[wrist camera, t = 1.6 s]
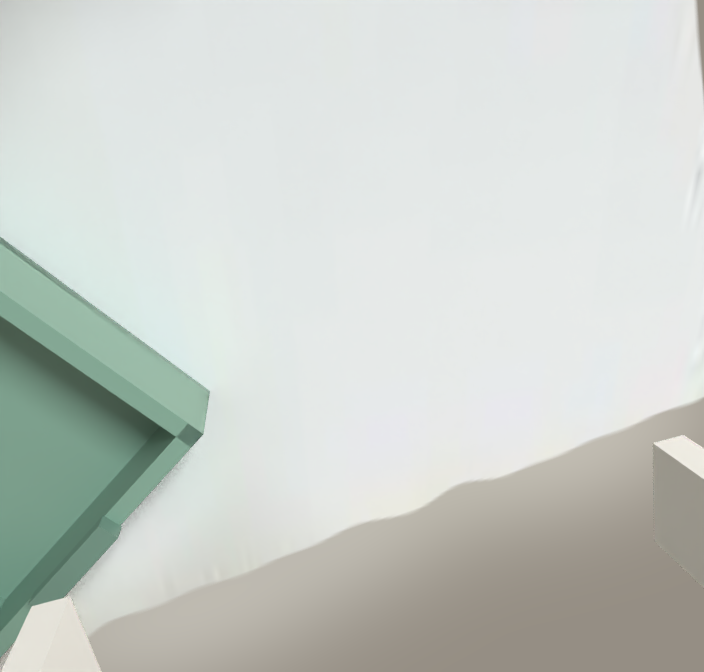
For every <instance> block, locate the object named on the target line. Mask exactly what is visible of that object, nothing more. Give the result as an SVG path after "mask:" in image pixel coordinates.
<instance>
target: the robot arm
mask: <svg viewBox="0 0 704 672" xmlns="http://www.w3.org/2000/svg"><path fill="white" fill-rule="evenodd" d="M653 490H654V491H653V495H654V498H653V499H654V541H655V542H656V543H657V544H658V545H659V546H660V547H661V548H662V549H663V550H664V551H665V552H666V553H667V554H668V555H669V556H670V557H671V558H672V559H674V560H675V561H676V562H677V563H678V564H679V565H680V566H681V567H682V568H683V569H684V570H685V571H686V572H687V573H688V574H689V575H690V576H692V578H694V579H695V580H696V581H697V582H698V583H699V584H700V585H701V586H702V587H703V588H704V448H702V447H701V446H699V445H697V444H696V443H695V442H693V441H691V440H690V439H688V438H687V437H685V436H684V435H682V436H678V437H674V438H670V439H667V440H663V441H659V442H655V443H653ZM1 672H102V671H101V669H100V666H99V664H98V662H97V659H96V657H95V654H94V652H93V650H92V647H91V645H90V643H89V640H88V638H87V635H86V633H85V631H84V628H83V626H82V624H81V621H80V619H79V616H78V614H77V612H76V609H75V607H74V605H73V602H72V600H71V597H70V596H69V597H65V598H61V599H58V600H54V601H50V602H46V603H42V604H39V605H35V606H32V607H31V609H30V611H29V613H28V615H27V617H26V620H25V622H24V624H23V626H22V628H21V630H20V632H19V634H18V637H17V639H16V641H15V643H14V645H13V647H12V649H11V651H10V654H9V656H8V658H7V660H6V662H5V664H4V666H3V668H2V671H1Z"/></svg>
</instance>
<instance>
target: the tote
mask: <svg viewBox="0 0 704 672" xmlns="http://www.w3.org/2000/svg"><path fill="white" fill-rule="evenodd" d="M209 393H210V391H209V390H207V389H206V388H205V387H203V386H202V385H201V384H199V383H198V382H196V381H195V380H194V379H192V378H191V377H190V376H188V375H187V374H186V373H184V372H183V371H182V370H180V369H179V368H177V367H176V366H175V365H173V364H172V363H171V362H169V361H168V360H167V359H165V358H164V357H163V356H161V355H160V354H158V353H157V352H156V351H154V350H153V349H152V348H150V347H149V346H148V345H146V344H145V343H144V342H142V341H141V340H139V339H138V338H137V337H135V336H134V335H133V334H131V333H130V332H129V331H127V330H126V329H124V328H123V327H122V326H120V325H119V324H118V323H116V322H115V321H114V320H112V319H111V318H110V317H108V316H107V315H105V314H104V313H103V312H101V311H100V310H99V309H97V308H96V307H95V306H93V305H92V304H91V303H89V302H88V301H86V300H85V299H84V298H82V297H81V296H80V295H78V294H77V293H76V292H74V291H73V290H72V289H70V288H69V287H67V286H66V285H65V284H63V283H62V282H61V281H59V280H58V279H57V278H55V277H54V276H53V275H51V274H50V273H48V272H47V271H46V270H44V269H43V268H42V267H40V266H39V265H38V264H36V263H35V262H34V261H32V260H31V259H29V258H28V257H27V256H25V255H24V254H23V253H21V252H20V251H19V250H17V249H16V248H15V247H13V246H12V245H10V244H9V243H8V242H6V241H5V240H4V239H2V238H1V237H0V657H1V656H2V655H3V654H4V653H5V652H6V651H7V650H8V649H9V648H10V646H11V645H12V644H13V643H14V642H15V641H16V639H17V637H18V634H19V632H20V630H21V628H22V626H23V624H24V622H25V620H26V617H27V615H28V613H29V611H30V609H31V607H32V606H35V605H39V604H42V603H46V602H50V601H54V600H58V599H61V598H64V597H65V596H66V594H67V593H68V592H69V591H70V590H71V589H72V588H73V587H74V586H75V585H76V583H77V582H78V581H79V580H80V579H81V578H82V577H83V576H84V575H85V574H86V572H87V571H88V570H89V569H90V568H91V567H92V566H93V565H94V564H95V563H96V561H97V560H98V559H99V558H100V557H101V556H102V555H103V554H104V553H105V552H106V550H107V549H108V548H109V547H110V546H111V545H112V544H113V543H114V542H115V541H116V539H117V538H118V536H119V533H120V530H121V527H122V526H120V525H121V524H122V523H123V522H124V521H125V520H126V519H127V518H128V516H129V515H130V514H131V513H132V512H133V511H134V510H135V509H136V508H137V507H138V505H139V504H140V503H141V502H142V501H143V500H144V499H145V498H146V497H147V496H148V494H149V493H150V492H151V491H152V490H153V489H154V488H155V487H156V486H157V485H158V483H159V482H160V481H161V480H162V479H163V478H164V477H165V476H166V475H167V474H168V472H169V471H170V470H171V469H172V468H173V467H174V466H175V465H176V464H177V462H178V461H179V460H180V459H181V458H182V457H183V456H184V455H185V454H186V453H187V451H188V450H189V449H190V448H191V447H192V446H193V445H194V444H195V443H196V442H197V440H198V439H199V438H200V437H201V436H202V435H203V433H204V426H205V420H206V413H207V406H208V400H209Z"/></svg>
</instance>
